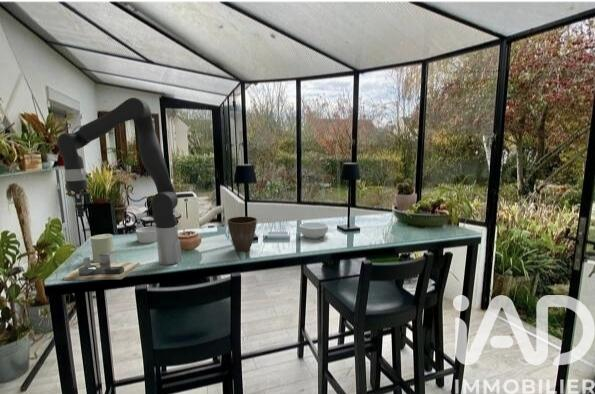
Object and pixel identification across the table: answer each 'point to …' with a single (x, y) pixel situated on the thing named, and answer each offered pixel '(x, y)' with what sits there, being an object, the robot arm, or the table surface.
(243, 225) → the plant pot
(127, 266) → the board
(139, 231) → the ramekin
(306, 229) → the cereal bowl
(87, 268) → the ratchet
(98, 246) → the cream cylinder
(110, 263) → the grey pocketed block
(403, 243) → the table surface
